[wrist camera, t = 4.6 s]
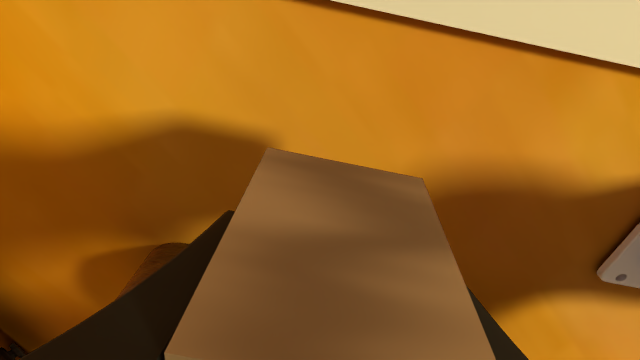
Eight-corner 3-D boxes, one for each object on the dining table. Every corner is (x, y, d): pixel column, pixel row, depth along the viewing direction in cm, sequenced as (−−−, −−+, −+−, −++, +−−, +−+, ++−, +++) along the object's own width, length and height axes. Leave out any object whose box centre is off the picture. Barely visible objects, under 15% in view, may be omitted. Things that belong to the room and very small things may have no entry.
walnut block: (422, 178, 9) (518, 415, 4) (378, 285, 12) (405, 523, 6) (267, 147, 9) (164, 353, 4) (254, 261, 11) (178, 486, 6)
